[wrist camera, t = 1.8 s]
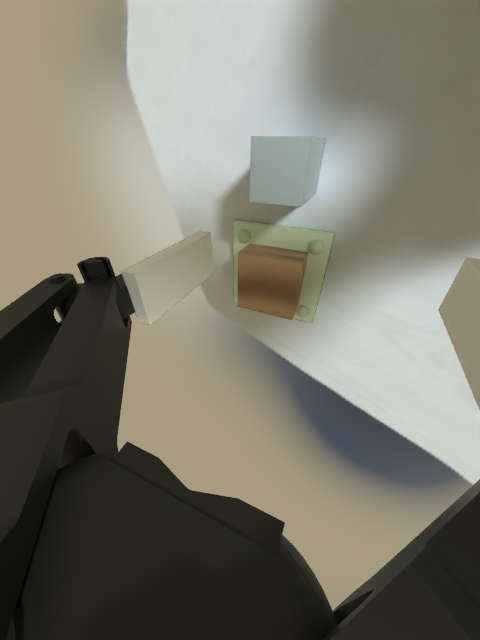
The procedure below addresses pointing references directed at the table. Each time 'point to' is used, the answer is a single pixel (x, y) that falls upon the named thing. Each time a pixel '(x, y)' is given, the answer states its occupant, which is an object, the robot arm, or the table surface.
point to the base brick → (270, 279)
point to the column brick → (285, 169)
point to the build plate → (295, 240)
